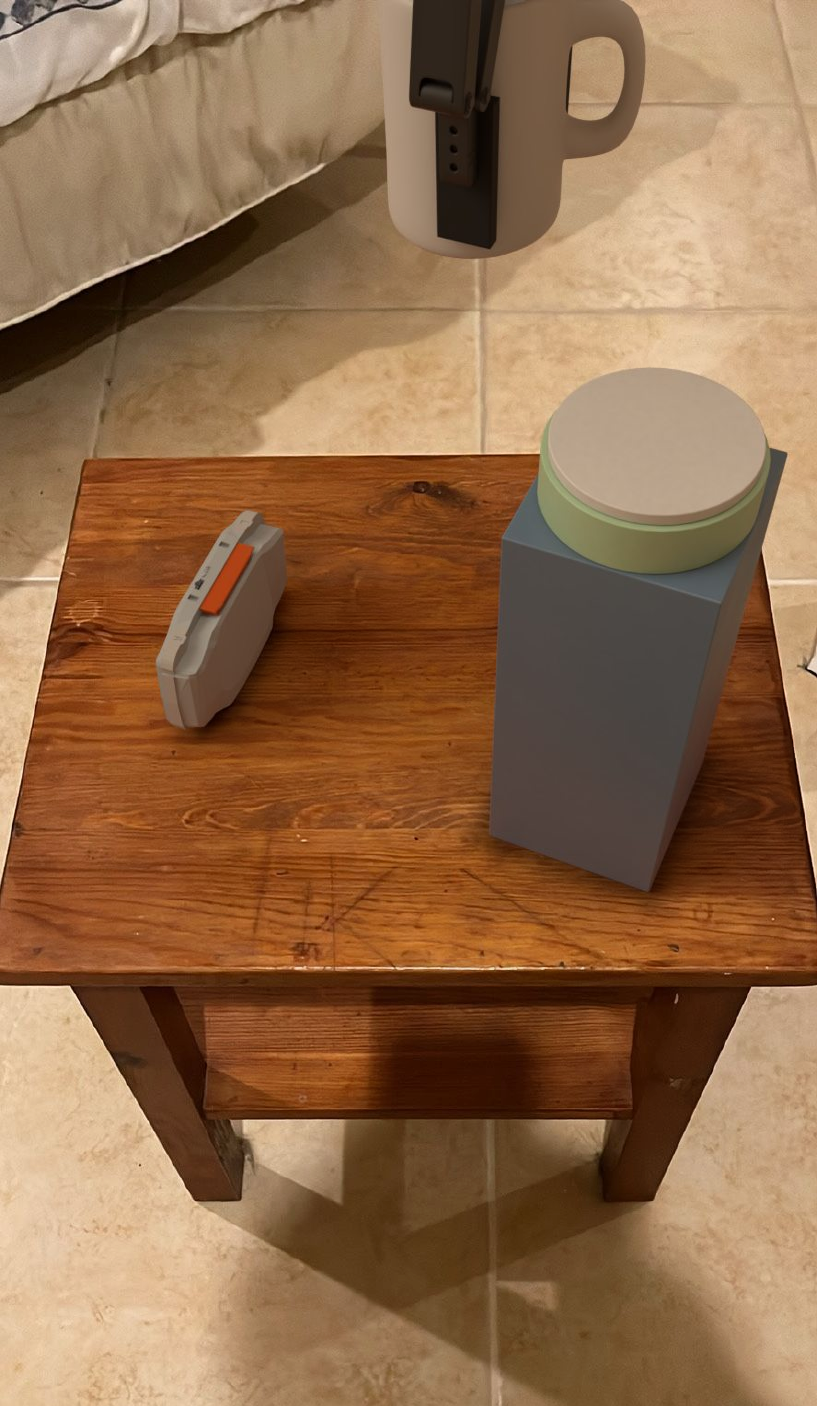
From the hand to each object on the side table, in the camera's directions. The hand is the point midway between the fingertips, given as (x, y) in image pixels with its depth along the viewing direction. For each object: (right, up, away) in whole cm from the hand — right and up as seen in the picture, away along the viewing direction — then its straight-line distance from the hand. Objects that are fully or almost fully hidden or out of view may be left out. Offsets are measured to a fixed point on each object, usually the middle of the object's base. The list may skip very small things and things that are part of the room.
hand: (503, 185), depth 63 cm
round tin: (+6, -16, -5) cm, 18 cm away
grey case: (-16, -20, +22) cm, 33 cm away
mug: (0, 0, +2) cm, 2 cm away
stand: (+7, -29, +15) cm, 33 cm away
